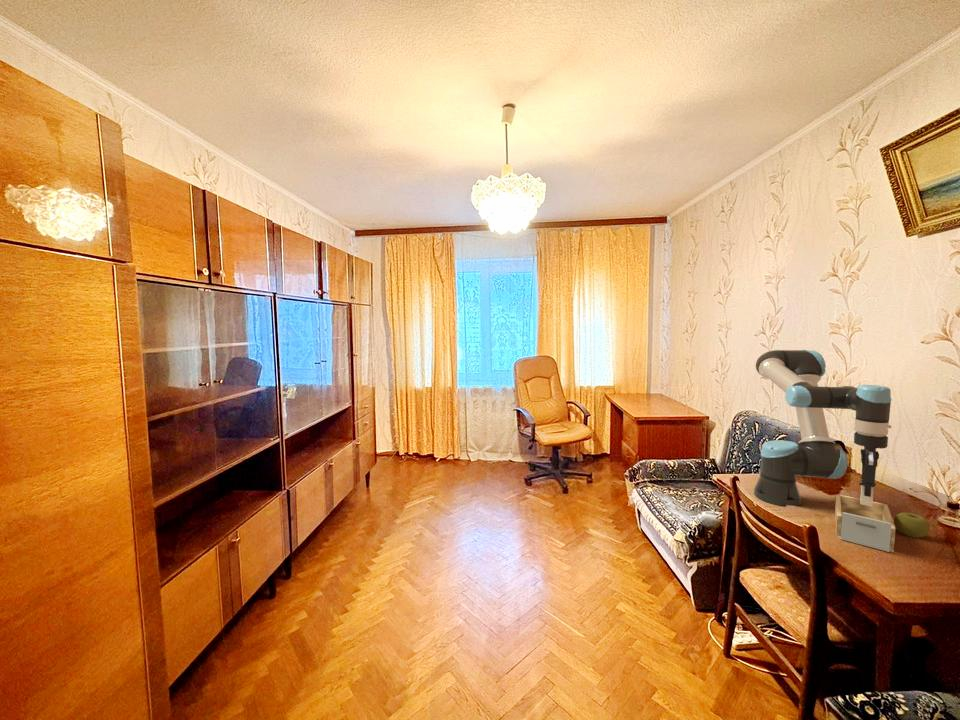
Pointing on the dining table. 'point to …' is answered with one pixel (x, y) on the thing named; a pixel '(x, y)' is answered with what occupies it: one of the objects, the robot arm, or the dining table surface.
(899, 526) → the apple
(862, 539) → the pale blue panel
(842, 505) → the crate
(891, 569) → the dining table surface
